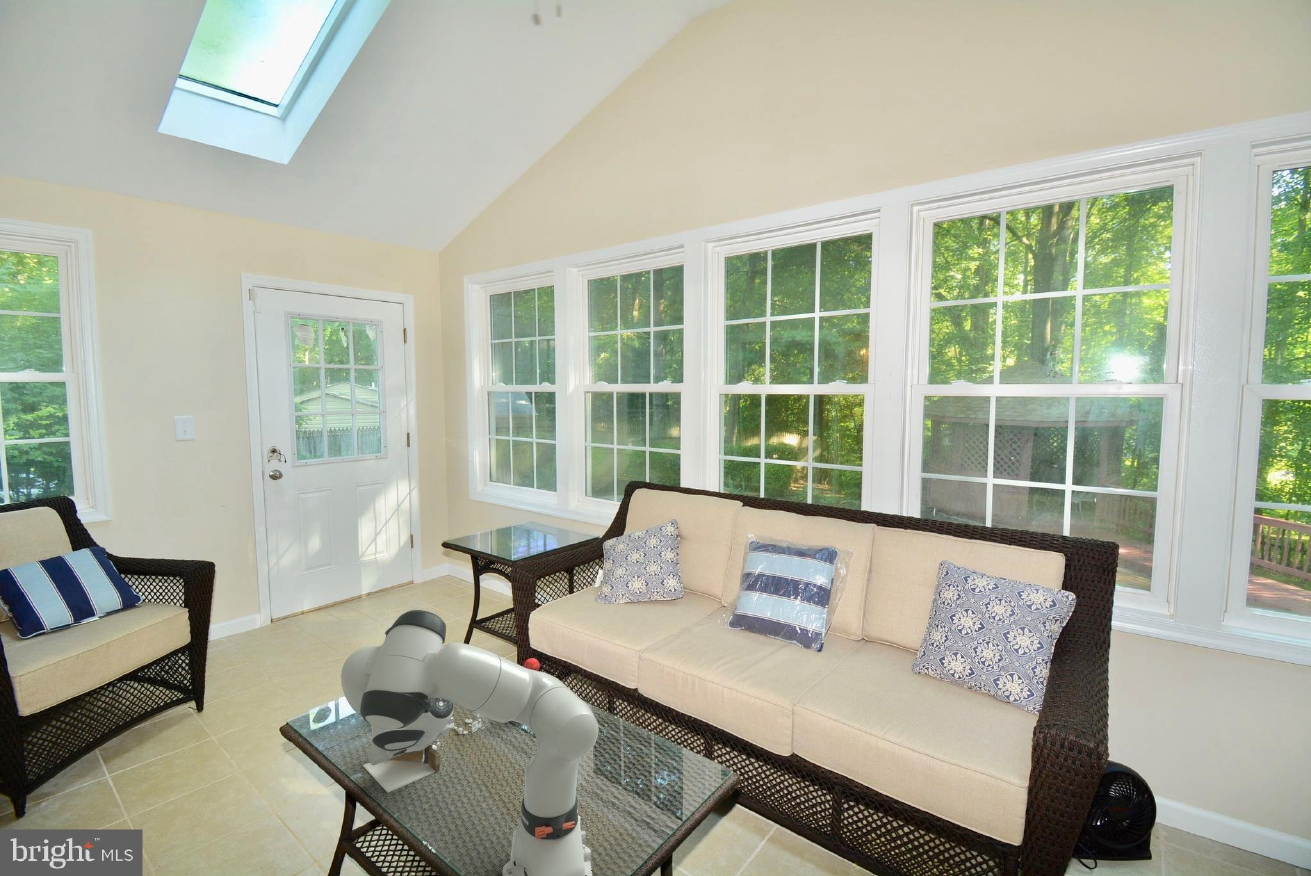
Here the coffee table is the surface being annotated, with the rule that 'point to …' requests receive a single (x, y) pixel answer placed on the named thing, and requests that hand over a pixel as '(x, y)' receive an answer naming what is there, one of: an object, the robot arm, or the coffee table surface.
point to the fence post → (432, 758)
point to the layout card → (398, 772)
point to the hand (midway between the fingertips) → (402, 751)
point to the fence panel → (411, 756)
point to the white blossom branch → (462, 729)
